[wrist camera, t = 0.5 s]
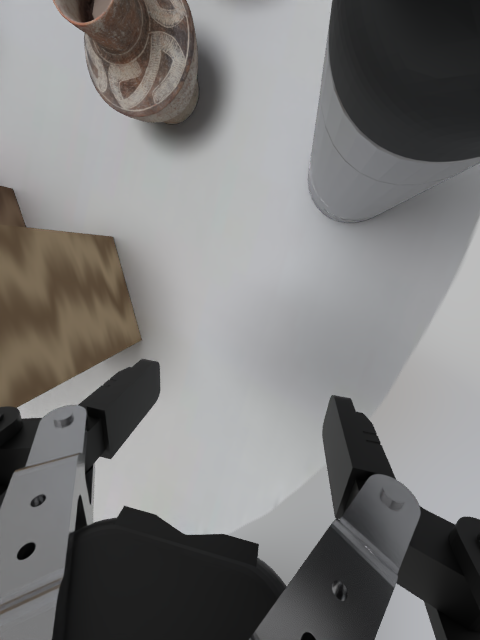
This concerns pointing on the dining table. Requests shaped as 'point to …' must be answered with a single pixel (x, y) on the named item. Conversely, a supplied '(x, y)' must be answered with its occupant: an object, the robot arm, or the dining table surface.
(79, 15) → the pottery
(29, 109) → the dining table surface
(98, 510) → the dining table surface
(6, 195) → the tall stand
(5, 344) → the lower block
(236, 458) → the dining table surface
